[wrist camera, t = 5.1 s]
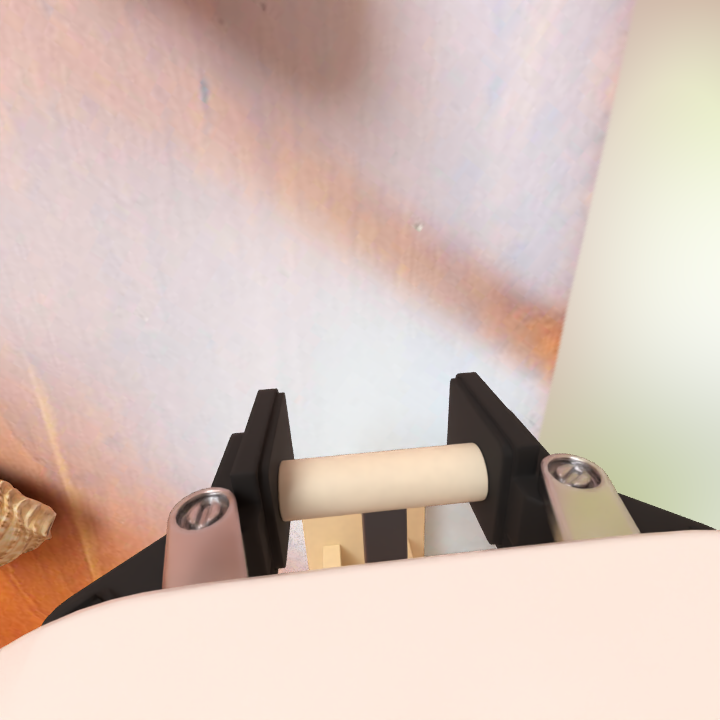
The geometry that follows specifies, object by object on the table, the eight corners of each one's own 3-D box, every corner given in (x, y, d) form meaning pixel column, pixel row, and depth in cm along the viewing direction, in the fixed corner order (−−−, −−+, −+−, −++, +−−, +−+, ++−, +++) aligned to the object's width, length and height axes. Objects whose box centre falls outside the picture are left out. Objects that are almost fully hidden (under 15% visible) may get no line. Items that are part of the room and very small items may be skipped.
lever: (284, 440, 10) (272, 497, 8) (462, 424, 11) (499, 474, 8) (330, 790, 15) (331, 885, 13) (451, 771, 16) (472, 862, 13)
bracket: (301, 494, 22) (276, 830, 10) (420, 483, 22) (527, 791, 11) (317, 610, 26) (312, 951, 14) (418, 598, 26) (496, 918, 15)
